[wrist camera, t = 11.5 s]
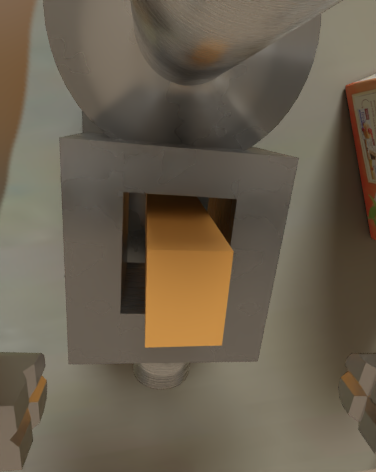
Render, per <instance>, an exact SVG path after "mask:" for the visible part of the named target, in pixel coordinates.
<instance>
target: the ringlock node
mask: <svg viewBox="0 0 376 472" xmlns="http://www.w3.org/2000/svg"><path fill="white" fill-rule="evenodd" d="M341 1H343V0H43V7H44V16H45V25H46V30H47V35H48V39H49V44H50V48H51V51H52V54H53V57H54V59H55V62H56V65H57V68H58V70H59V72H60V74H61V76H62V79H63V81H64V83H65V85H66V87H67V89H68V90H69V92H70V93H71V95H72V97H73V98H74V100H75V101H76V103H77V104H78V106H79V107H80V108H81V109H82V119H83V133H80V134H75V135H70V136H64V137H59V143H60V167H61V191H62V215H63V239H64V264H65V288H66V312H67V336H68V360H69V364H123V363H133V372H134V375H135V377H136V378H137V379H138V381H140V382H141V383H142V384H144V385H146V386H148V387H150V388H154V389H168V388H172V387H175V386H177V385H179V384H181V383H182V382H183V381H184V380H185V379H186V377H187V375H188V372H189V364H190V362H252V361H258V358H259V353H260V348H261V343H262V338H263V333H264V328H265V323H266V318H267V313H268V308H269V303H270V298H271V293H272V288H273V283H274V278H275V274H276V269H277V264H278V259H279V254H280V249H281V244H282V239H283V234H284V229H285V224H286V219H287V214H288V209H289V204H290V199H291V194H292V189H293V184H294V179H295V174H296V170H297V165H298V160H299V158H297V157H293V156H289V155H285V154H280V153H276V152H272V151H268V150H264V149H260V148H256V147H251V146H253V145H254V144H256V143H257V142H258V141H260V140H261V139H262V138H264V137H265V136H266V135H267V134H268V133H269V132H271V131H272V130H273V129H274V128H275V127H276V126H277V125H278V124H279V122H280V121H281V120H282V119H283V118H284V116H285V115H286V114H287V113H288V112H289V110H290V109H291V107H292V106H293V104H294V102H295V101H296V99H297V98H298V96H299V94H300V92H301V90H302V88H303V86H304V84H305V82H306V80H307V78H308V75H309V72H310V70H311V67H312V64H313V61H314V57H315V53H316V49H317V45H318V40H319V33H320V26H321V13H323V12H325V11H326V10H328V9H330V8H331V7H333V6H335V5H336V4H338V3H339V2H341ZM146 193H147V194H163V195H179V196H194V197H197V198H198V199H199V201H200V202H201V204H202V205H203V207H204V208H205V209H206V211H207V212H208V214H209V215H210V217H211V218H212V220H213V221H214V223H215V224H216V226H217V227H218V229H219V230H220V232H221V233H222V235H223V236H224V238H225V239H226V241H227V242H228V244H229V245H230V247H231V248H232V250H233V251H234V253H233V261H232V269H231V277H230V285H229V293H228V301H227V309H226V317H225V325H224V333H223V341H222V345H220V346H184V347H148V348H145V224H146Z"/></svg>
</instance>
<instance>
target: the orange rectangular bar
mask: <svg viewBox="0 0 376 472" xmlns="http://www.w3.org/2000/svg"><path fill="white" fill-rule="evenodd" d="M233 253H234V251H233V250H232V248H231V247H230V245H229V244H228V242H227V241H226V239H225V238H224V236H223V235H222V233H221V232H220V230H219V229H218V227H217V226H216V224H215V223H214V221H213V220H212V218H211V217H210V215H209V214H208V212H207V211H206V209H205V208H204V207H203V205H202V204H201V202H200V201H199V199H198V198H197V197H194V196H179V195H163V194H147V193H146V224H145V348H148V347H184V346H220V345H222V341H223V333H224V325H225V317H226V309H227V301H228V293H229V285H230V277H231V269H232V261H233Z"/></svg>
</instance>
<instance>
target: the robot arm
mask: <svg viewBox="0 0 376 472" xmlns="http://www.w3.org/2000/svg"><path fill="white" fill-rule="evenodd" d="M345 366H346V368H347V370H348V371H347V372H346V373H345V374H344V375H343V376H342V377H341V379H340V383H339V387H338V388H339V397H340V400H341V403H342V405H343V407H344V409H345V410H346V412H347V413H348V415H350V416H351V417H353V418H354V419H355V420H357V421H358V422H359V424H358V430H359V431H360V433H361V434H362V436H363V437H364V439H365V440H366V442H367V443H368V445H369V446H370V448H371V449H372V451H373V452H374V454H376V353H351V354H350V355H349V356H348V357H347V360H346V363H345ZM44 368H45V358H44V355H43V354H42V353H17V352H0V471H12V470H22V468H23V466H24V463H25V460H26V458H27V455H28V453H29V450H30V447H31V445H32V442H33V434H32V429H33V428H34V427H35V426H36V425H38V424H39V423H40V421H41V418H42V415H43V412H44V408H45V403H46V399H47V380H46V379H45V378H44V377H43V376H42V373H43V371H44Z"/></svg>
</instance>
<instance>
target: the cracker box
mask: <svg viewBox="0 0 376 472" xmlns="http://www.w3.org/2000/svg"><path fill="white" fill-rule="evenodd" d="M345 89H346V95H347V101H348V107H349V112H350V119H351V124H352V130H353V136H354V142H355V148H356V153H357V159H358V165H359V171H360V177H361V183H362V188H363V194H364V200H365V205H366V212H367V217H368V223H369V229H370V235H371V238H372V239H374V240H376V74H374V75H371V76H369V77H366V78H364V79H361V80H359V81H356V82H354V83H351V84H349V85H346V87H345Z"/></svg>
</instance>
